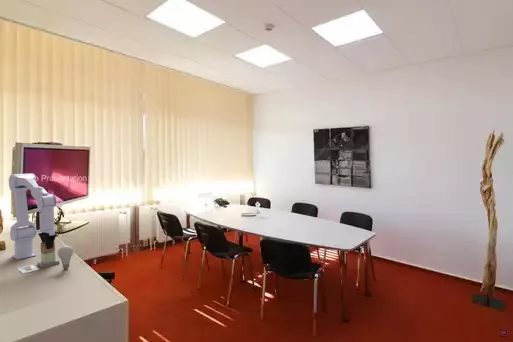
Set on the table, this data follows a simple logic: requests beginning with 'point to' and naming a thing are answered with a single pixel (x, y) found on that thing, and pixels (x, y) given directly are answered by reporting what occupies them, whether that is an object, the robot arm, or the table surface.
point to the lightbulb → (65, 255)
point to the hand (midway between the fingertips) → (47, 247)
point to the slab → (48, 263)
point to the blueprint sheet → (27, 269)
